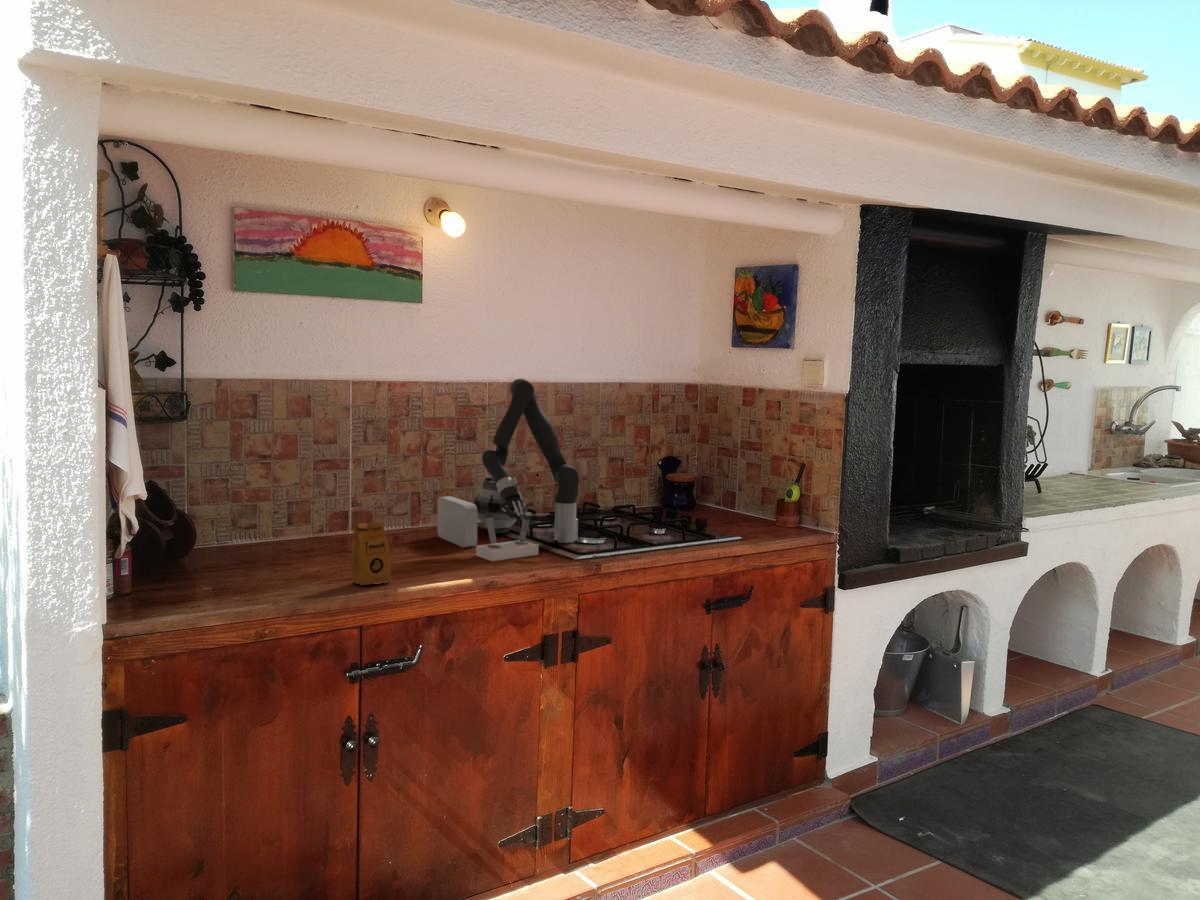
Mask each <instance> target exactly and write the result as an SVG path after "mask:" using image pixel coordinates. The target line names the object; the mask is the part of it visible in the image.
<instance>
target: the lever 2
mask: <svg viewBox="0 0 1200 900" xmlns="http://www.w3.org/2000/svg"><path fill="white" fill-rule="evenodd" d="M533 516H534V514H532V513H531V512H530V511H527V512H525V513H523V518H524V520H523V524H522V526H520V527H521V528H520V532H519V536H518V539H517V541H518V540H519V541H520V542H521V541H526V536H527V532H528V529H529V526H530V521H531V520H533Z"/></svg>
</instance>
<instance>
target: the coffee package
mask: <svg viewBox="0 0 1200 900" xmlns="http://www.w3.org/2000/svg"><path fill="white" fill-rule="evenodd" d="M384 526H385V522H384V520H383V521H374V522H367V523H366V522H363V523H355V525H354V528H353V535H352V541H351V582H352V581H353V582H354V583H353V584H355V583H356V585H357V584H360V585H366V584H374V583H379V582H386V581H389V582H390V580H391V559H390V547H389V543H388V539H387V536H386V532H385V528H384ZM360 585H359V586H360Z"/></svg>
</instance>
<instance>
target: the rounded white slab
mask: <svg viewBox="0 0 1200 900" xmlns="http://www.w3.org/2000/svg"><path fill="white" fill-rule="evenodd" d="M437 536H438V537H439V538H440V539H443V540H445V541H447V542H450V543H452V544H454V545H457V546H458V547H461V548H473V547H476V546H478V545H477V544H478V516H477V507H476V505H475V504H474V502H473V503H472V502H469V501H466V500H465V499H464V500H463V499H461V498H458V497H454V496H451V495H450V496H449V495H447V496H439V497H438V499H437Z"/></svg>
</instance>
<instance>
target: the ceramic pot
mask: <svg viewBox="0 0 1200 900" xmlns="http://www.w3.org/2000/svg"><path fill="white" fill-rule="evenodd" d="M511 478H512V480H513V481H514V483H515V485H516V488H517V490H518V492H519V494H520V498H521V500H522V501H523V503H525V501H524V498H523V496H522V494H521V492H520V491H519V489H518V480H517V478H516V477H513V476H511ZM473 504H475V505H476V507H477V519H479V521H480V522H481V523H482V525H484V526H485V527H486V529H487V532H488V527H487V521H486V519H484V514H485V513H488V512H493V514H494V517H492V518H493V524H494V530H495V534H496V533H497V534H498V533H499V534H500V533H501V534H503V533H504V534H505V533H508V532H510V530H511V529H510V528H511V527H512V526H513V525H514V524H515V523H516V522H517V519H515V518H511V517H509V516H508V515H507V514H505V513H504V512H503V511H502V510H501V509H502V508H503V506H504V503H503V501H502V499H501V496H500V494H499V492H498V489H497V486H496V483H495V481H494V479H493V477H492V476H491V475H487V476H486V477H485V479H484V480H483V482H482V488H481V490H479V491H478V493H477V494H476V495H475V497H474V500H473ZM523 510H524V509H523V506H522V511H523ZM510 514H511V513H510ZM507 531H508V532H507Z"/></svg>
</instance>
